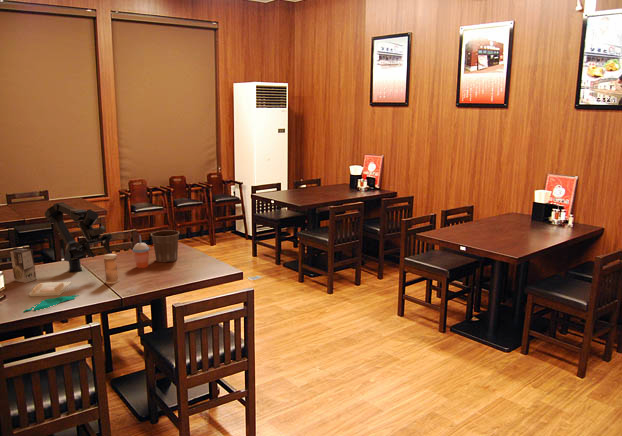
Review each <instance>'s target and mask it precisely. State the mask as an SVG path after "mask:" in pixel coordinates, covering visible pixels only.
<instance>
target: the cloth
mask: <svg viewBox="0 0 622 436" xmlns="http://www.w3.org/2000/svg"><path fill="white" fill-rule="evenodd" d="M79 296H80V295H79V294H76V295H75V294H74V295H66V296H58V297H51V298H45V299H43V300H41V301H40V302H41V303H40V302H39V303H40V304H38V303H35V304H34V305H33V306H36V305H37V306H36V307H35V308H34V307H33V306H32V307H30V308H28V309H25V310H24V311H23V312H24V313H25V311H26V312H27V311H29V312H30V311H31V310H32V308H34V310H33V311H35V312H37V311H36V310H38V311H41V310H40V309H42V310H45V309H44V308H46V309H49V308H51V307H50V306H53V305H55V306H57V305H59V304H60V303H63V302H68V301H71V300H75V299H76V298H77V297H79ZM56 304H57V305H56ZM48 307H49V308H48ZM53 307H54V306H53Z"/></svg>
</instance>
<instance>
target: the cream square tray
mask: <svg viewBox="0 0 622 436" xmlns="http://www.w3.org/2000/svg"><path fill="white" fill-rule="evenodd" d="M72 285H73V281H57V282H55V281H54V282H51V281H50V282H41V283H38V284H36V286H34V287H33V288H32V289H31V290H32V291H30V292H29V293H28V297H44V296H45V297H47V296H48V297H50V296H61V295H62V294H63V293H64V292H65V291H66V290H68V288H69V287H71V286H72Z"/></svg>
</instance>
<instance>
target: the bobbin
mask: <svg viewBox="0 0 622 436" xmlns="http://www.w3.org/2000/svg"><path fill="white" fill-rule="evenodd" d="M102 257H103V261H104V272H105V284H107V285H113V284H114V285H115V284H117V283H119V282H120V279H119V274H118V263H117V262H118V260H117V257H118V255H117V254H116V253H107V254H104V255H102Z"/></svg>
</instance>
